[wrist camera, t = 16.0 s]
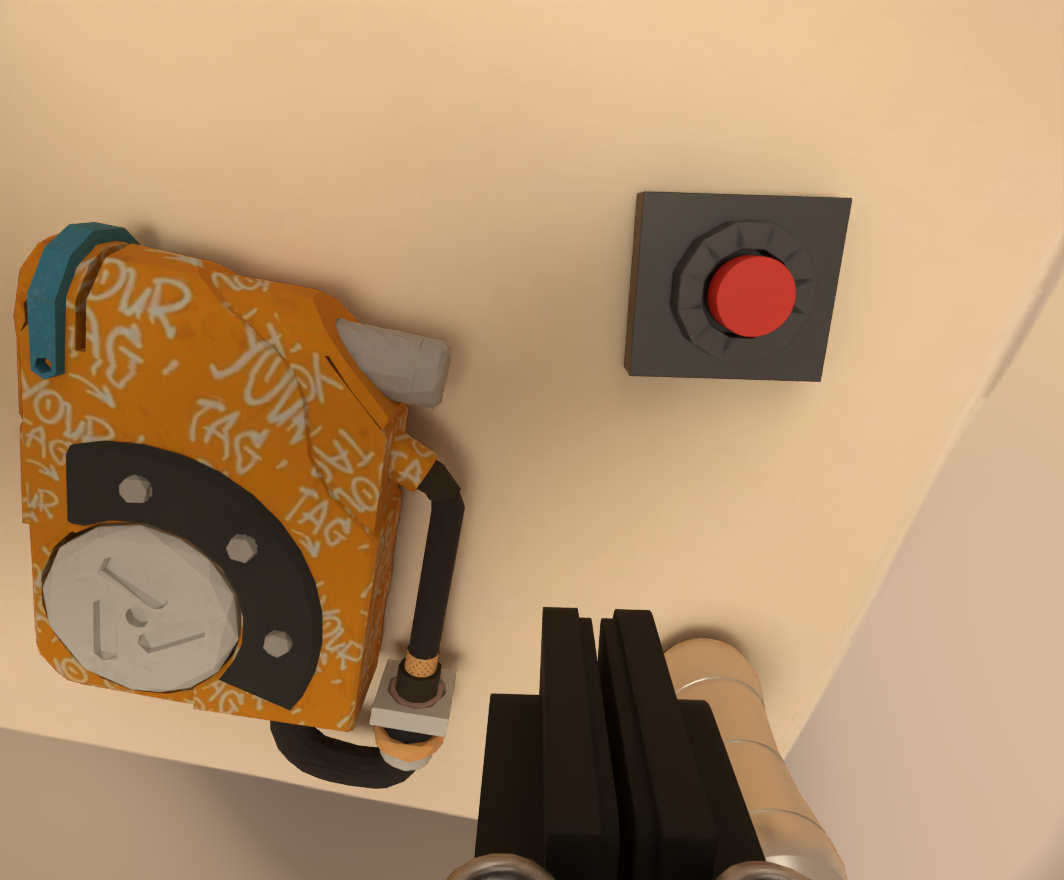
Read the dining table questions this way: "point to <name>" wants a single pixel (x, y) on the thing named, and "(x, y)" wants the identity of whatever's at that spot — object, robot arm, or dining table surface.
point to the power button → (751, 295)
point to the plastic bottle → (754, 756)
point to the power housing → (694, 257)
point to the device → (230, 497)
